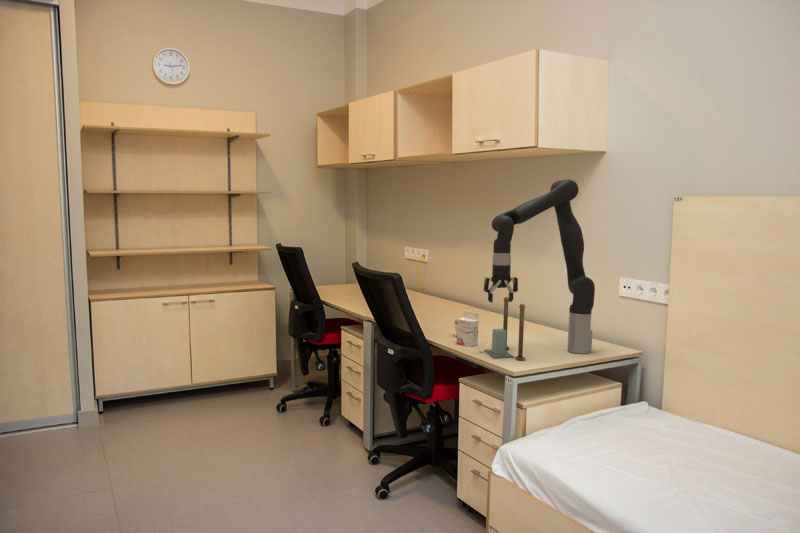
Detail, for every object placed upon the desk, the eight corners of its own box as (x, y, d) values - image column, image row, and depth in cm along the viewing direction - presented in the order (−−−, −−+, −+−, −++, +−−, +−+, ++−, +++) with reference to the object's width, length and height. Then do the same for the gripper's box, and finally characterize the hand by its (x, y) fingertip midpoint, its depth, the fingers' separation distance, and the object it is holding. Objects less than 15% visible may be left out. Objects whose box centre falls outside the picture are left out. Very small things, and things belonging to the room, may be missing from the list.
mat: (503, 350, 262) (503, 349, 261) (513, 357, 250) (514, 356, 250) (483, 351, 260) (483, 350, 260) (493, 358, 248) (493, 357, 248)
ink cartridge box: (456, 344, 273) (457, 312, 271) (462, 342, 277) (463, 310, 275) (471, 347, 267) (472, 314, 266) (478, 345, 271) (479, 313, 269)
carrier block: (501, 351, 257) (502, 328, 256) (505, 354, 253) (506, 330, 252) (491, 352, 257) (492, 328, 255) (495, 354, 252) (496, 331, 251)
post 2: (522, 358, 249) (525, 303, 247) (526, 360, 246) (528, 304, 243) (513, 358, 249) (515, 303, 246) (517, 361, 245) (519, 304, 242)
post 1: (507, 347, 267) (509, 296, 265) (510, 350, 263) (512, 297, 261) (498, 348, 266) (500, 296, 264) (501, 350, 262) (503, 297, 260)
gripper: (514, 262, 256) (513, 300, 257) (482, 262, 253) (481, 300, 255) (521, 264, 248) (519, 303, 250) (488, 264, 246) (487, 303, 247)
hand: (500, 302), depth 252 cm, fingers open, 8 cm apart
